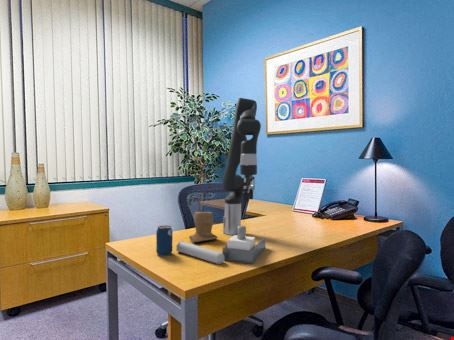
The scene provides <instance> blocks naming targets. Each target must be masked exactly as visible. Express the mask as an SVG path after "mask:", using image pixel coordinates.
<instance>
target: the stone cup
mask: <svg viewBox="0 0 454 340" xmlns="http://www.w3.org/2000/svg"><path fill="white" fill-rule="evenodd" d="M193 222H194V225H195V228H194V229H195V233H194V234H191V235H189V237H188V239H189V240H190V241H191V243H200V242H206V241H212V240H216V239H218V238H219V237H218V236H217V235H215V234H213V232H212V230H213V225H214V213H213V212H212V211H195V212H194V215H193Z"/></svg>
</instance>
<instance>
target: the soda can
mask: <svg viewBox="0 0 454 340" xmlns="http://www.w3.org/2000/svg"><path fill="white" fill-rule="evenodd" d="M155 233H156V239H155V240H156V241H155V242H156V243H155V244H156V245H155V249H156V250H155V252H156V254H157V255H158V256H159V257H160V256H161V257H167V256H170V255H171V254H172V252H173V229H172V226H171V225H158V226H157V229H156V231H155Z"/></svg>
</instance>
